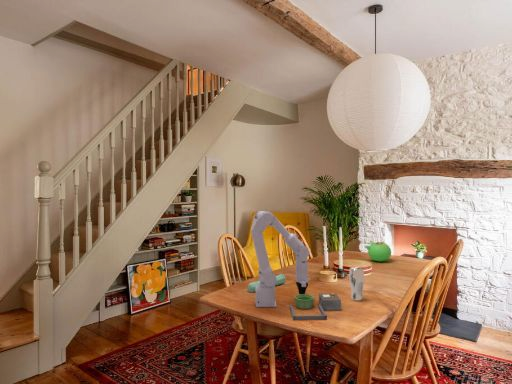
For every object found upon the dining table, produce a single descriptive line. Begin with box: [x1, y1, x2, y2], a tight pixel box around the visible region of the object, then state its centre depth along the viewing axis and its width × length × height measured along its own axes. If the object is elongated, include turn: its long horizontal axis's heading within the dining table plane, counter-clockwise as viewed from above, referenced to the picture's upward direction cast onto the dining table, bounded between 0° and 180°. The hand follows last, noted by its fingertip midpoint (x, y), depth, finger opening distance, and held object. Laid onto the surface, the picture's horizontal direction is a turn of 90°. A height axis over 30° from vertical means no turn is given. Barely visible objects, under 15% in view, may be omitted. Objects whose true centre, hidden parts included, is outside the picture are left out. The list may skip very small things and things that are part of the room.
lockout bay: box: [289, 303, 328, 321], centre depth 147 cm, size 14×14×2 cm
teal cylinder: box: [246, 273, 287, 293], centre depth 187 cm, size 6×6×25 cm
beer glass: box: [348, 266, 365, 302], centre depth 166 cm, size 7×7×15 cm
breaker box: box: [318, 292, 342, 311], centre depth 156 cm, size 8×10×5 cm
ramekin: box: [294, 293, 315, 310], centre depth 157 cm, size 9×9×4 cm
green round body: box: [364, 240, 392, 263], centre depth 250 cm, size 18×17×15 cm
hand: (302, 297), depth 165 cm, fingers closed
